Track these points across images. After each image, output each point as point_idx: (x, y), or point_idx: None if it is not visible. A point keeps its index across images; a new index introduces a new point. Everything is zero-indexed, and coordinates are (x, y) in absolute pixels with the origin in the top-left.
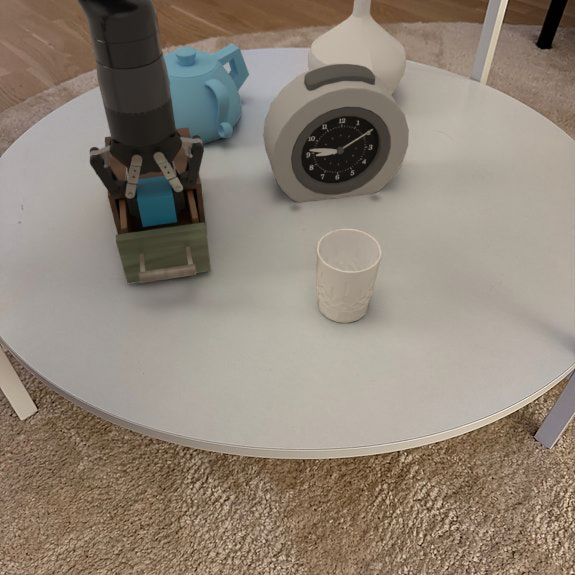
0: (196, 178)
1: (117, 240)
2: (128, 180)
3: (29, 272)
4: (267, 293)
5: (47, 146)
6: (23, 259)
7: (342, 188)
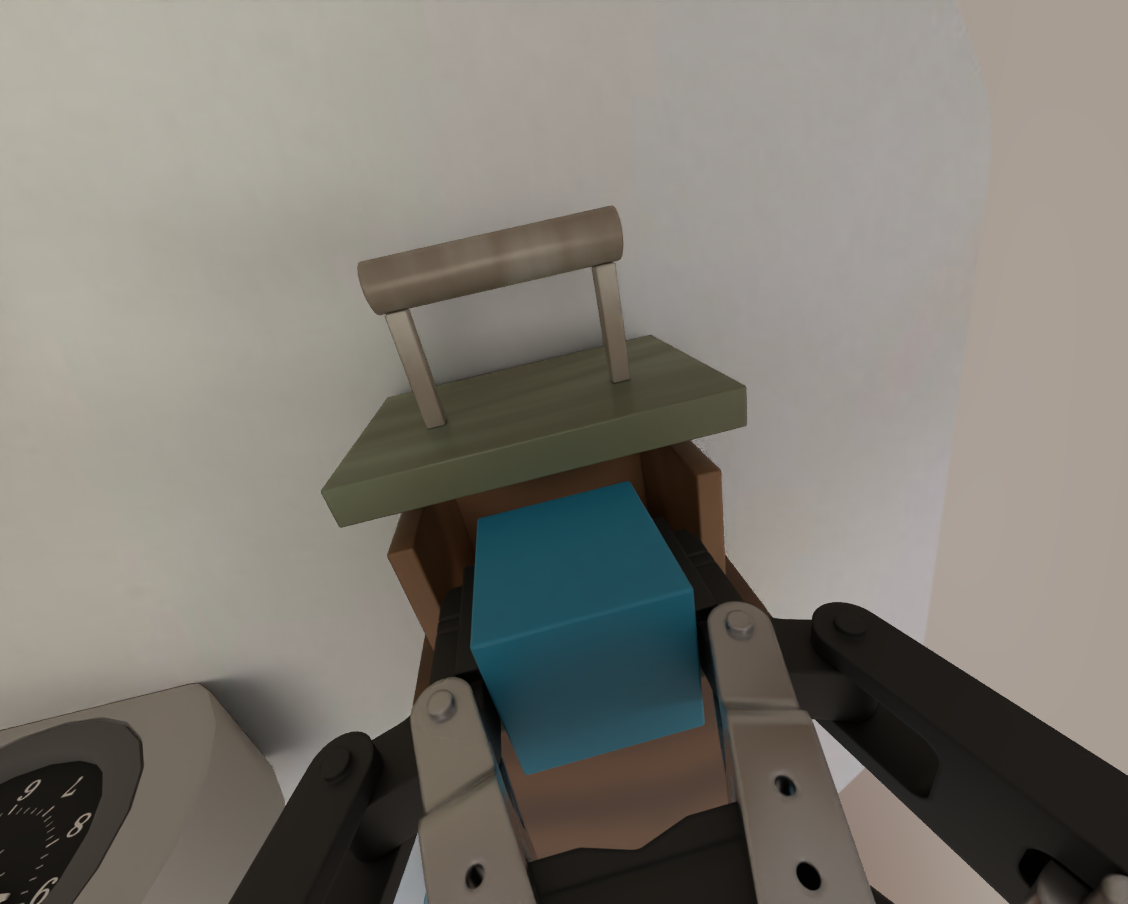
0: (291, 809)
1: (740, 389)
2: (815, 740)
3: (902, 390)
4: (159, 307)
5: (833, 747)
6: (911, 436)
7: (32, 747)
